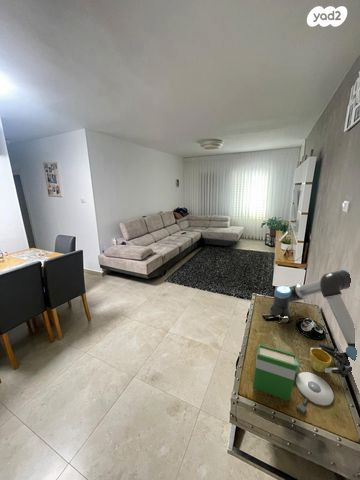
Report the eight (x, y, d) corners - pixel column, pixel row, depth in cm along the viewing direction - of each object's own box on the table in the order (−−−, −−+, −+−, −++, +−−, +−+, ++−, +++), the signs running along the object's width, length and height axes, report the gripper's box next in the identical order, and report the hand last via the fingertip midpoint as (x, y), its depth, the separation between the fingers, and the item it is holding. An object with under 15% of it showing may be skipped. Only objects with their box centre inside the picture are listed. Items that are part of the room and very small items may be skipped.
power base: (303, 368, 119) (303, 365, 118) (337, 390, 106) (338, 388, 106) (282, 397, 104) (282, 394, 103) (319, 428, 91) (320, 425, 90)
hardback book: (287, 387, 108) (294, 354, 101) (289, 401, 102) (296, 366, 94) (253, 375, 115) (258, 343, 108) (253, 387, 109) (257, 354, 101)
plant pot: (324, 362, 122) (328, 350, 119) (330, 377, 113) (334, 365, 110) (305, 357, 126) (308, 345, 123) (310, 372, 116) (313, 359, 113)
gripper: (370, 384, 107) (331, 385, 107) (336, 346, 131) (304, 347, 131) (374, 374, 105) (334, 375, 105) (338, 338, 128) (306, 338, 128)
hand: (317, 359), depth 118 cm, fingers open, 13 cm apart
